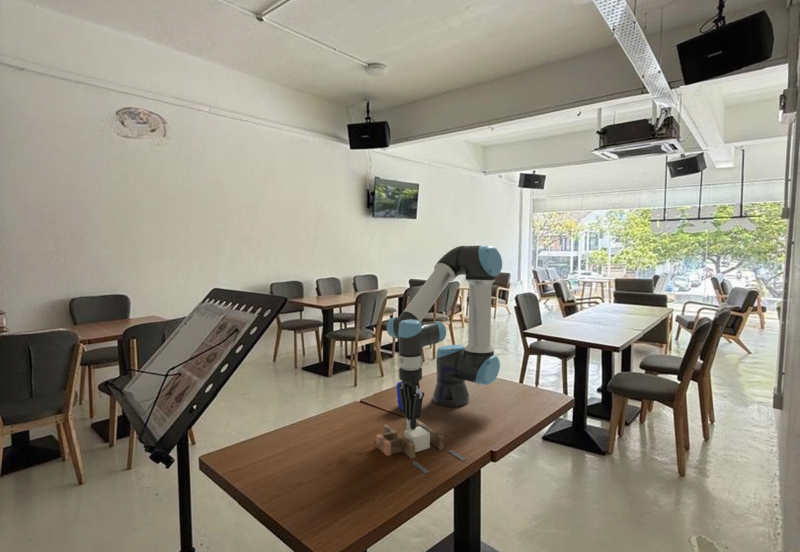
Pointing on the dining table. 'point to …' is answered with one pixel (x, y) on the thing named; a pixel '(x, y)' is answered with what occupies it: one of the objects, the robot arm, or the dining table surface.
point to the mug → (399, 396)
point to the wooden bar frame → (404, 441)
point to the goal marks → (428, 471)
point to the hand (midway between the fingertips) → (411, 436)
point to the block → (418, 438)
